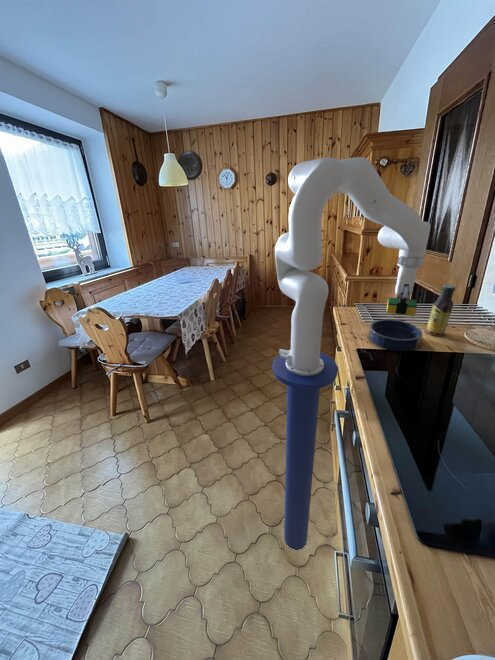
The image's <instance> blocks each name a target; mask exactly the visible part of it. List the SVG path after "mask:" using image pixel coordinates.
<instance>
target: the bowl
mask: <svg viewBox="0 0 495 660" xmlns="http://www.w3.org/2000/svg"><path fill="white" fill-rule="evenodd" d="M422 337H423V331H422V330H421V328H420V327H418V326H416V325H415V324H412V323H410V322H408V321H402V320H398V319H378V320H376V321H373V322H372V323H371V324H370V326H369V333H368V338H369V340H370V342H371V343H372V344H374V345H376V346H377V347H379V348H382V349H385V350H387V351H393V352H409V351H414V350H416V349H418V348H419V347H420V345H421V341H422Z"/></svg>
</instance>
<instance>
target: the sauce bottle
mask: <svg viewBox="0 0 495 660" xmlns="http://www.w3.org/2000/svg"><path fill="white" fill-rule="evenodd" d="M456 288H457V287H456V286H455V285H453V284H447V283H446V284H443V285H442V286H441V291H440V294H439V297H438V298H437V299H436V300H435V302H434V303H433V305H432V308H431V311H430V314H429V317H428V318H429V319H428V322H427V325H426V333H427V334H429V335H431V336H436V337H441V336H443V335H444V334H445V332H446V330H447V326H448V323H449V320H450V317H451V314H452V311H453V307H454V301H453V295H454V293H455V291H456Z"/></svg>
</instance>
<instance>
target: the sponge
mask: <svg viewBox="0 0 495 660" xmlns="http://www.w3.org/2000/svg"><path fill="white" fill-rule="evenodd" d="M398 301H399V298H397V297H388V299H387V305H386V314H392V315H399V316H400V315H401V316H409V317H415V316H416V312H417V309H418V308H417V307H418V303H417V299H411V298H408V305H407V310H406V314H397V313H396V307H397V302H398Z"/></svg>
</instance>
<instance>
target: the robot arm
mask: <svg viewBox="0 0 495 660" xmlns="http://www.w3.org/2000/svg"><path fill="white" fill-rule="evenodd" d="M287 182H288V187H289V189H290V191H291V193H292V194H294V197H293V198H292V201H291V202H290V206H289V209H288V231H287V232H285V233H283V234H282V235H280V237H279V238H278V239H277V241H276V243H275V247H274V259H275V268H276V276H277V277H276V278H277V284H278V287H279V290H280V291H281V292H282V294H283V295H285V296H286V297H288V298H289V299H292V300H293V301H294V302H295V305H294V308H293V310H292V313H291V325H290V326H291V327H290V332H291V333H290V349H288V350H287V349H284V348H283V349H282V348H279V350H278V355H280V354H281V355H280V358H285V359H287V360H286V367H287V369H288V370H289V371H291V372H292V373H294V374H297V375H301V376H313V375H316V374H319V373H320V372H321V371H322V370H323V369H324V362H323V361H322V359H320V352H321V348H322V347H321V346H322V335H323V321H324V320H323V319H324V311H325V307H326V303H327V300H328V297H329V292H330V291H329V285H328V283H327V281H326V280H325V279H324V278H323V277H322V276H321V275H318V274H317V273H314V272H311V271H314V270H316V269H317V268H319V266H320V264H321V262H322V260H323V233H322V232H323V231H322V220H323V219H322V218H323V212H324V209H325V207H326V205H327V203H328V201H329V200H330V199H331V198H332V196H333V195H334V194H345V195H347V196H348V197H349V199H350V200H351V201H352V203H353V204H354V206H356V208H357V209H358V210H359V212H360V213H361V215H362V216H363V217H364V218H366V219H367V220H369V221H371V222H373V223H375V224H378V225H381V226H382V227H381V228H380V229H379V231H378V234H377V241H378V243H379V244H380V245H381V246H383V247H385V248H390V249H396V250H399V251H398V255H397V256H398V257H397V263H396V266H398V267H399V269H398V272H397V276H396V282H395V288H394V294H395V295H396V298H399V301H398V302H397V307H396V313H397V314H396V315H399V314H406V310H407V305H408V299H409V297H411V296H412V293H413V291H414V286H415V281H416V278H417V274H418V273H417V272H418V268H422V267H423V264H424V259H425V255H426V250H427V246H428V241H429V237H430V232H431V224H430V222H428V221H424V220H423V219H422V217H421V216H420V215H419V213H418V212H417V211H416V210H415V209H414V208H413V207H411V206H409V205H408V204H406V203H405V202H403V201H402V200H401V199H399V198H398V197H396V196H394V195H393V194H391V192H390V191H389V188H388V187H387V186H386V184H385V183H384V181H383V179H382V178H381V176H380V174H379V173H378V172H377V169H376V168H375V167H374V165H373V163H372V162H371V161H370V160H369V159H368V158H366V157H362V156H356V157H355V156H354V157H349V158H342V159H338V158H335V157H321V158H316V159H312V160H311V159H310V160H306V161H301V162H299V163H297V164H296V165H294V166H293V167H292V169H291V170H290V172H289V175H288V181H287Z"/></svg>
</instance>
